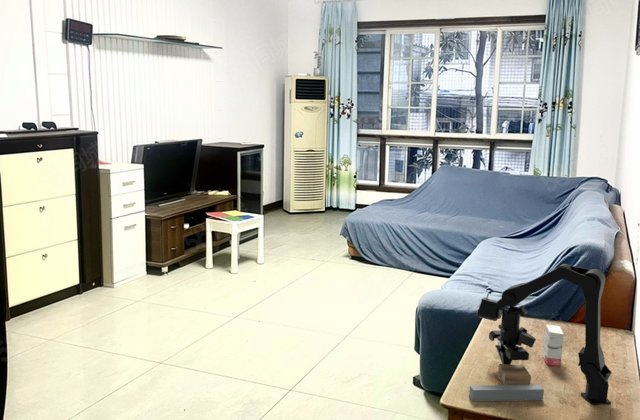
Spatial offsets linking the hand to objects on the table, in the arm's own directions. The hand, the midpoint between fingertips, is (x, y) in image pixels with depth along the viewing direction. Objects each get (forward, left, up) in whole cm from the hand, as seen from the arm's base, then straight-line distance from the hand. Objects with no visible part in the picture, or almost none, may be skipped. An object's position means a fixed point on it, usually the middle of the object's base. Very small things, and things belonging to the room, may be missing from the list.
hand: (505, 369), depth 201 cm
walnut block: (-6, 0, -2) cm, 7 cm away
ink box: (+10, -21, -2) cm, 23 cm away
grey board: (-17, +7, -1) cm, 18 cm away
